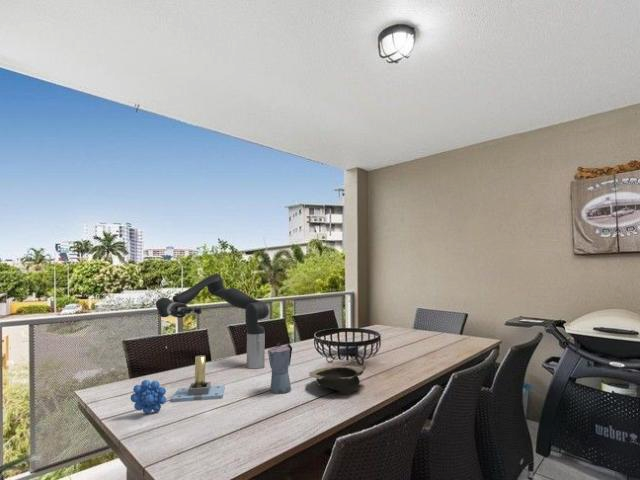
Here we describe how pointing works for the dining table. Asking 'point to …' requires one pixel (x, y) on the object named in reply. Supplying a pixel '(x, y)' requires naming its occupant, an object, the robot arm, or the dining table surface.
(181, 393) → the square socket mounting plate
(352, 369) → the stone bowl
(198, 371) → the pin
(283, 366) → the moka pot
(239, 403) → the dining table surface
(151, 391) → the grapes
